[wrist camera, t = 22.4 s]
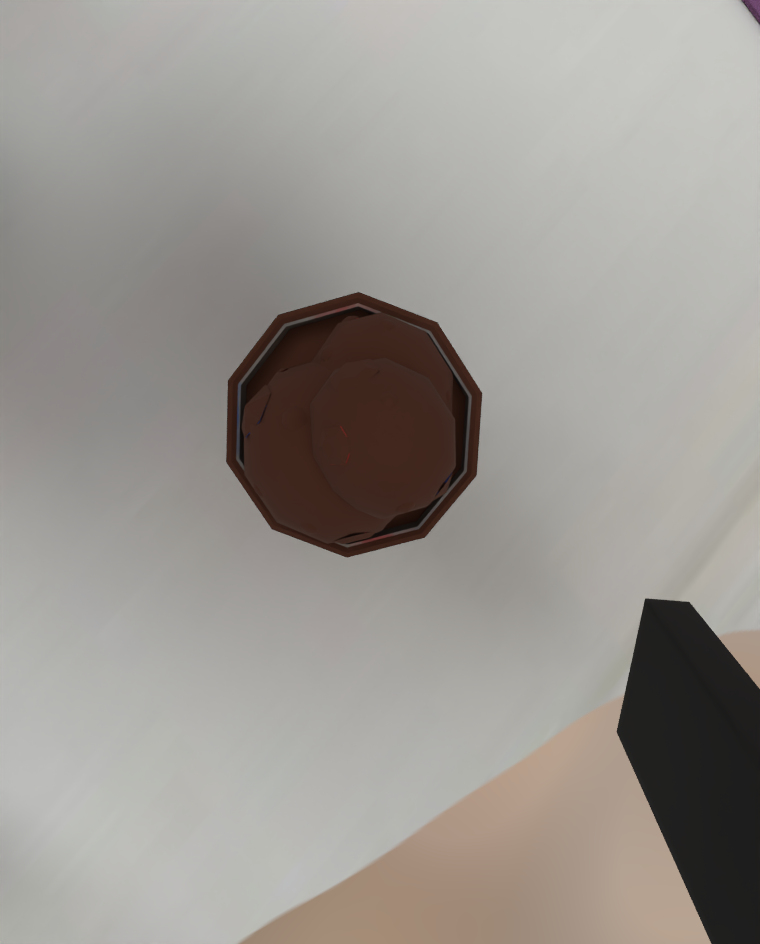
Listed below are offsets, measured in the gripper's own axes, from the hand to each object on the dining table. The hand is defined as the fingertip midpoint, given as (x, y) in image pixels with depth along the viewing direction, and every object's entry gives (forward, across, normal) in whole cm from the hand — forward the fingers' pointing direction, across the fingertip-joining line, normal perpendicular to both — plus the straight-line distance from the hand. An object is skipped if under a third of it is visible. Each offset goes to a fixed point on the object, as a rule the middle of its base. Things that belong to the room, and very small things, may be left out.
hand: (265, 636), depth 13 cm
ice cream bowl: (+28, +1, -2) cm, 28 cm away
